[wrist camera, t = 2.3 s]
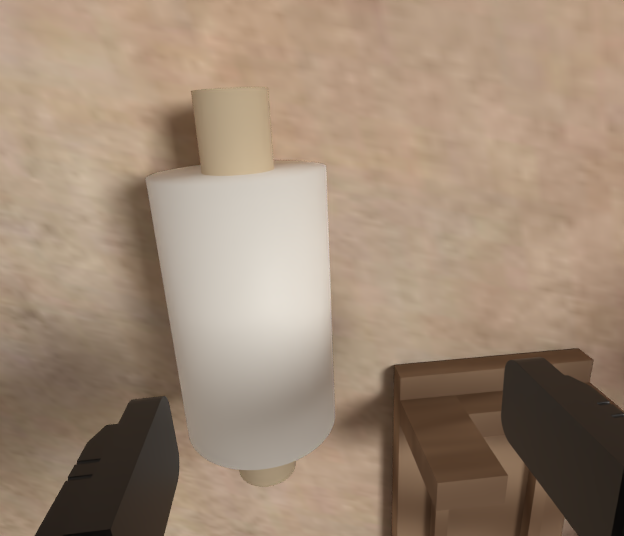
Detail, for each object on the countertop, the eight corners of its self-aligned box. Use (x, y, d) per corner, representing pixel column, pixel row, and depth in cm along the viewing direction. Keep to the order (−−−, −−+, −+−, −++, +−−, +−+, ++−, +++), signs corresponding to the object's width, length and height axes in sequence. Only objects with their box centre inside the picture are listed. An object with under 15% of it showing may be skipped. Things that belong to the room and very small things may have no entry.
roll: (231, 94, 17) (91, 95, 12) (358, 84, 14) (228, 80, 9) (262, 404, 21) (166, 480, 17) (362, 449, 18) (275, 553, 14)
